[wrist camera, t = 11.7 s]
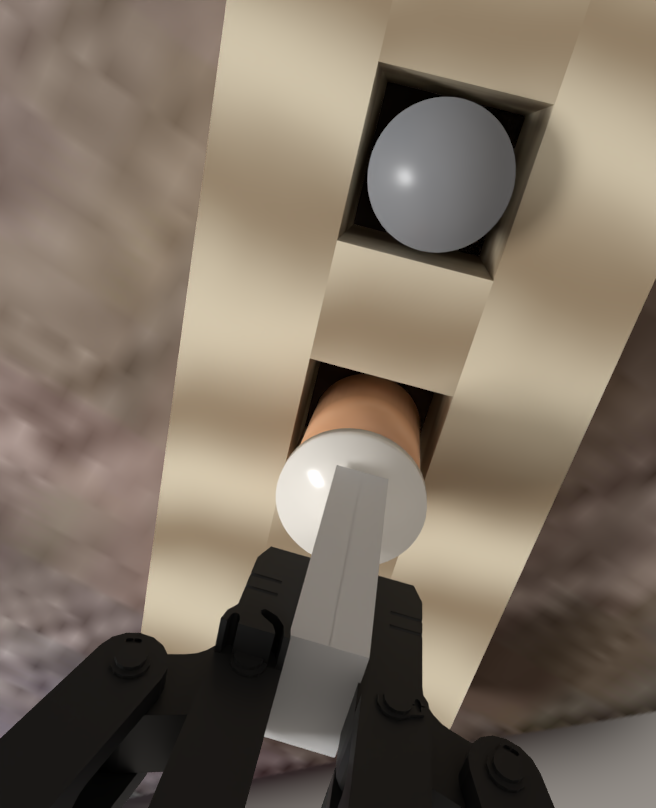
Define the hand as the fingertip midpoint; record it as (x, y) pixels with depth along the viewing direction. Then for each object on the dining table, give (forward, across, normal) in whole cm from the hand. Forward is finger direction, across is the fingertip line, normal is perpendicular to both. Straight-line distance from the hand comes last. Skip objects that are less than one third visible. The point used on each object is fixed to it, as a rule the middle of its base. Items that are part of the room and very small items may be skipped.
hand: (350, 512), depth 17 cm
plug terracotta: (+6, 0, 0) cm, 6 cm away
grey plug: (+9, 0, +9) cm, 13 cm away
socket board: (+9, 0, 0) cm, 9 cm away
